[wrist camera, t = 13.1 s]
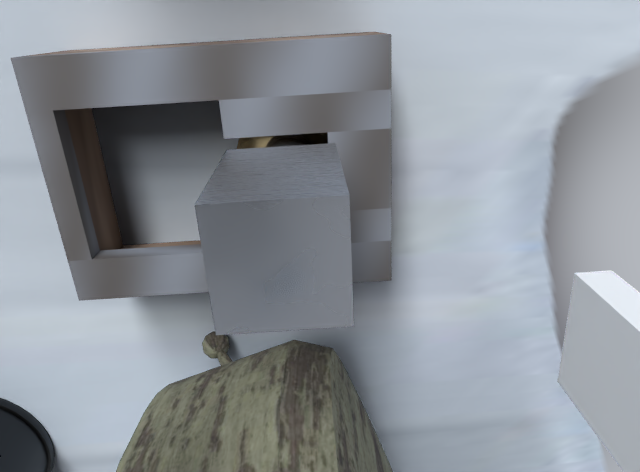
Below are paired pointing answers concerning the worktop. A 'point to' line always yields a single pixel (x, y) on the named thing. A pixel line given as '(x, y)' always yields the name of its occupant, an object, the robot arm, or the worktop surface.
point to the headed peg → (278, 236)
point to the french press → (23, 441)
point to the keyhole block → (237, 122)
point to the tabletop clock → (258, 417)
